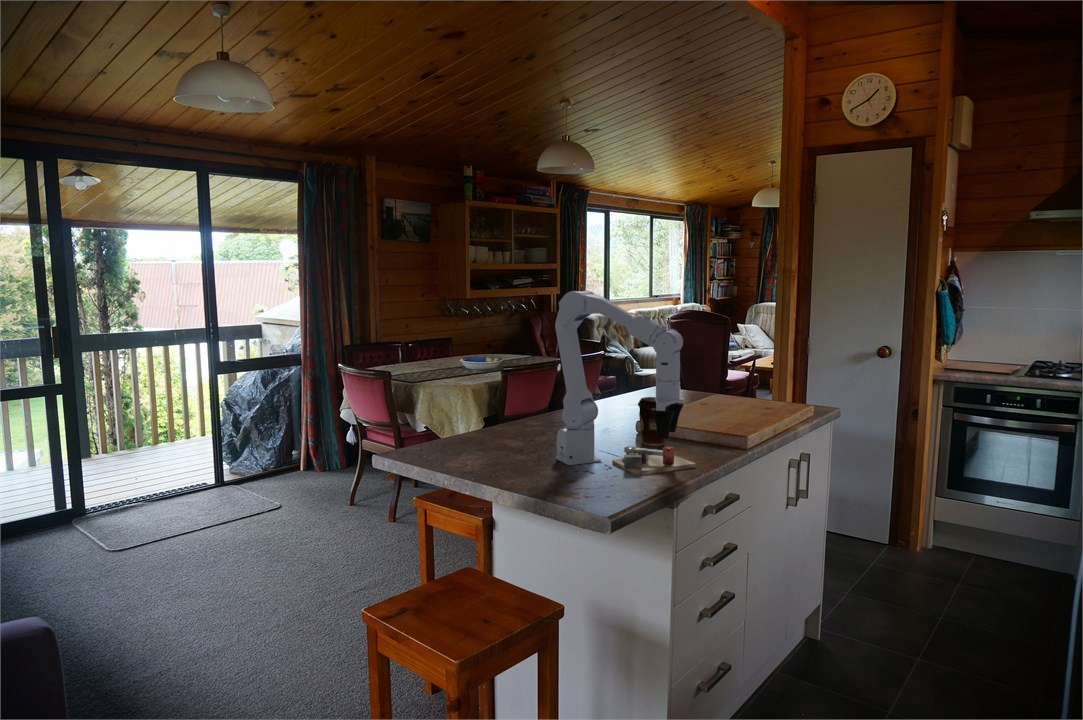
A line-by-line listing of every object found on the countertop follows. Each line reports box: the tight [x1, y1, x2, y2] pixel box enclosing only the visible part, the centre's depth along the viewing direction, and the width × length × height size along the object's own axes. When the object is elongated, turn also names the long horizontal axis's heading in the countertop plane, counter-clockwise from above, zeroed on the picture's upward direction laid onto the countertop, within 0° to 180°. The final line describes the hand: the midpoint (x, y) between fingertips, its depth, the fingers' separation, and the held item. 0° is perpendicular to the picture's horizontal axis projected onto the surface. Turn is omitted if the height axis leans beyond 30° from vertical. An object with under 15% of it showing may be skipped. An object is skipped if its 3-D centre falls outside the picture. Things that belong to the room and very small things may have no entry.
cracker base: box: [611, 453, 697, 477], centre depth 177 cm, size 18×12×4 cm, turn 113°
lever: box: [623, 445, 675, 465], centre depth 176 cm, size 13×3×4 cm, turn 62°
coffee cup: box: [637, 396, 665, 447], centre depth 201 cm, size 9×8×13 cm
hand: (667, 435), depth 172 cm, fingers open, 7 cm apart
